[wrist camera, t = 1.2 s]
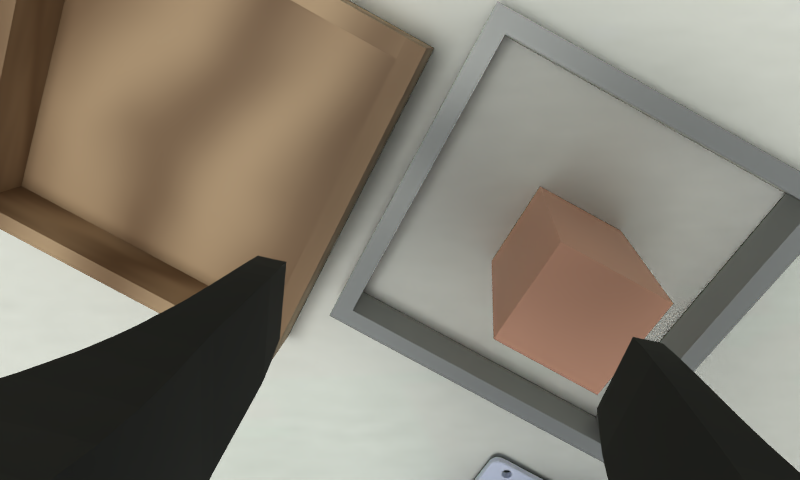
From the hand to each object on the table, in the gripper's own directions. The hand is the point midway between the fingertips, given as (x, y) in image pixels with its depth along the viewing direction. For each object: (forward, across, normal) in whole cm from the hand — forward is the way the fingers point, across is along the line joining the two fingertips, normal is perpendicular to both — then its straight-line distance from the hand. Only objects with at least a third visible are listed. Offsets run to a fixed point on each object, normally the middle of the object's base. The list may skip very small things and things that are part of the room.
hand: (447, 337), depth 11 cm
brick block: (+13, -5, +4) cm, 14 cm away
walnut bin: (+14, +12, +2) cm, 18 cm away
